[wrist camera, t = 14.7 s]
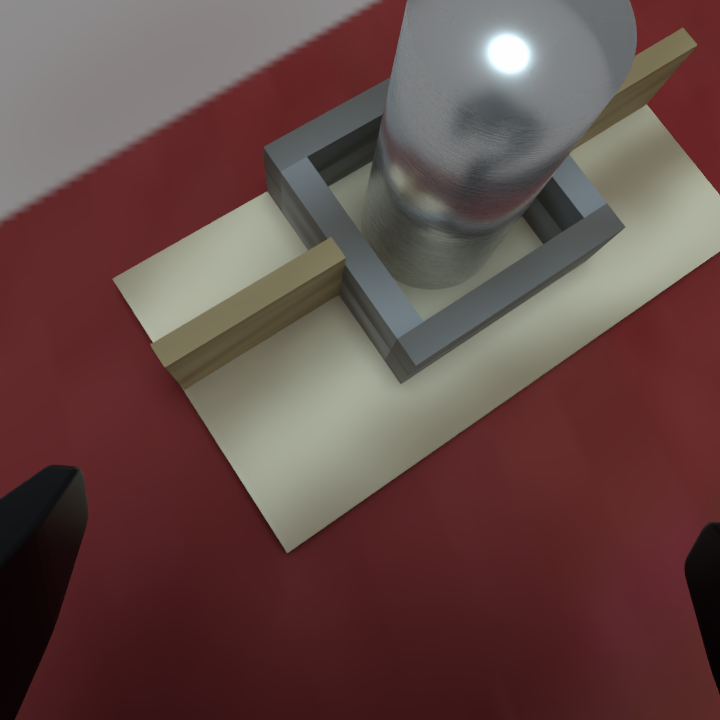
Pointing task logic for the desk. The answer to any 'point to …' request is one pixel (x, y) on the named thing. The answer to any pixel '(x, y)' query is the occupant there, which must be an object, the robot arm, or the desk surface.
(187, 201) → the desk surface
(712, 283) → the desk surface
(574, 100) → the silver metal cylinder
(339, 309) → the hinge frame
